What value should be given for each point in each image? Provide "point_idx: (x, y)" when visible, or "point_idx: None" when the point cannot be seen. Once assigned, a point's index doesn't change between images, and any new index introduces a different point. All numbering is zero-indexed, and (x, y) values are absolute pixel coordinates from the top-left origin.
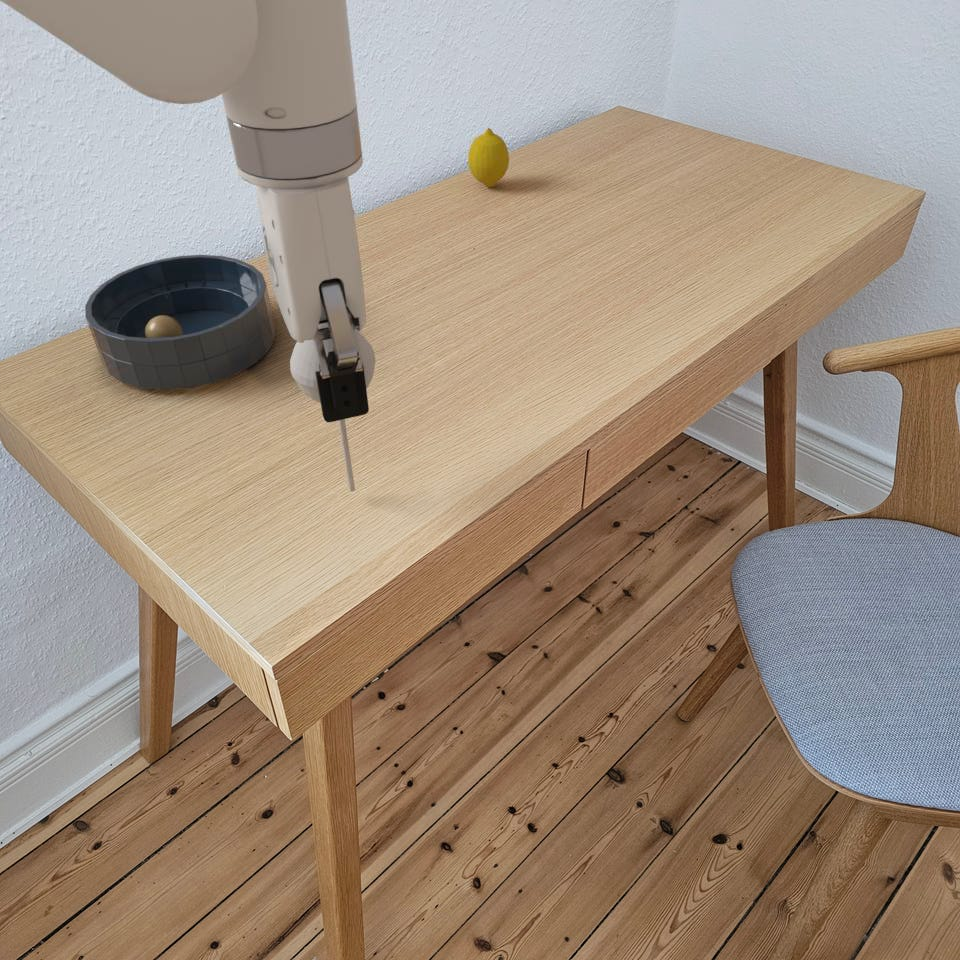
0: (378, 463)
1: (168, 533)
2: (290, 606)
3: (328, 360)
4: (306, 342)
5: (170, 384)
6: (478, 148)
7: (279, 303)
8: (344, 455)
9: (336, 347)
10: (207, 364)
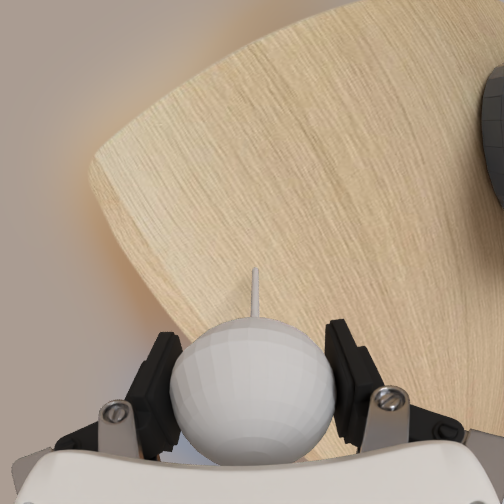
0: (307, 296)
1: (257, 65)
2: (122, 188)
3: (70, 446)
4: (233, 417)
5: (486, 105)
6: None
7: (222, 502)
8: (253, 290)
9: (13, 478)
10: (498, 148)
